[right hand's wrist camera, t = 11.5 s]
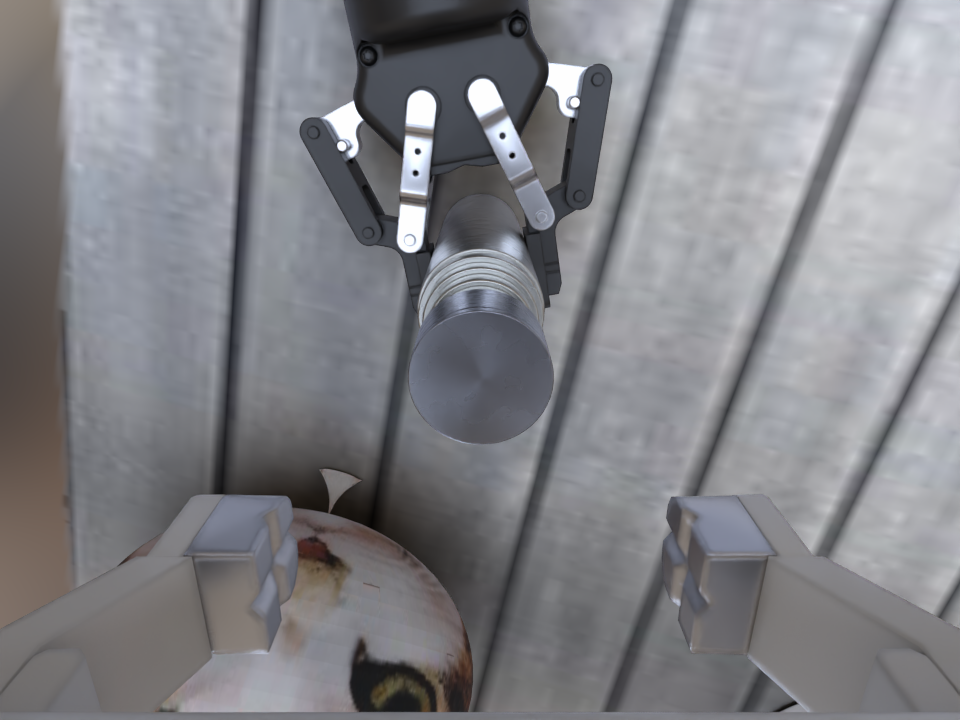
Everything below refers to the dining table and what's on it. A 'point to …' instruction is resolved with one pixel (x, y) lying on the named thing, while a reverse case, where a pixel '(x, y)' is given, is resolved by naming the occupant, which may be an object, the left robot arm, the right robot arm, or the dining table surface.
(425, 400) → the cap
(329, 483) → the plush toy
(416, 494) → the dining table surface
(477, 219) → the bottle
